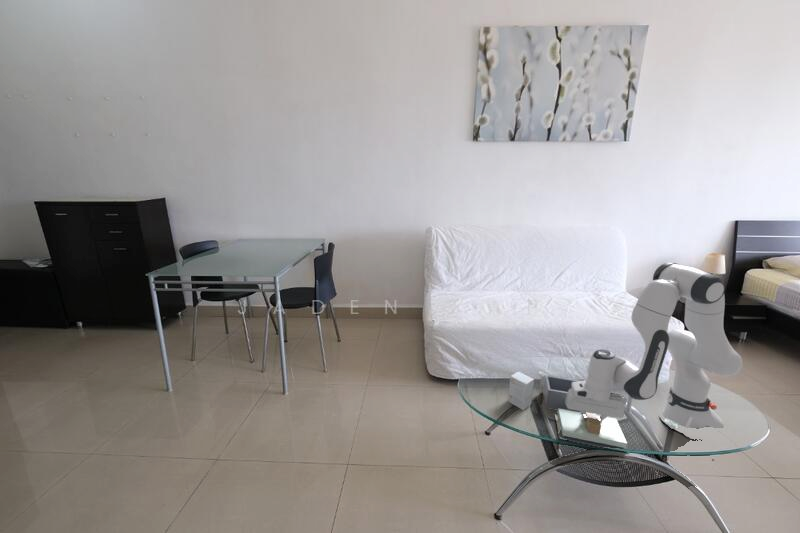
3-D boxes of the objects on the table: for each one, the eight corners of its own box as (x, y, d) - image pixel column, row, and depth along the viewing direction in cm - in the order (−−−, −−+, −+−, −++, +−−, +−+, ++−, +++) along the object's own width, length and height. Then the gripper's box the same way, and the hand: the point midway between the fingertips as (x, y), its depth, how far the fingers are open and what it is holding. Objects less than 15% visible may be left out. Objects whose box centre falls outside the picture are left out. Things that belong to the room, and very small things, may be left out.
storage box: (589, 400, 161) (592, 382, 159) (595, 417, 150) (599, 398, 147) (542, 391, 166) (545, 374, 164) (545, 407, 155) (548, 389, 153)
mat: (616, 426, 145) (617, 425, 145) (628, 453, 131) (629, 452, 131) (553, 414, 151) (554, 413, 151) (559, 439, 137) (559, 438, 137)
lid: (615, 423, 144) (618, 410, 142) (626, 448, 131) (629, 434, 130) (557, 412, 150) (559, 400, 148) (562, 435, 137) (565, 422, 135)
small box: (531, 404, 157) (534, 379, 153) (523, 410, 153) (526, 384, 149) (515, 395, 163) (518, 370, 159) (507, 401, 159) (510, 375, 155)
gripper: (625, 390, 136) (618, 421, 140) (567, 381, 141) (562, 411, 145) (630, 400, 130) (623, 432, 134) (570, 390, 135) (564, 421, 139)
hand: (591, 421), depth 140 cm, fingers closed on lid, 4 cm apart
